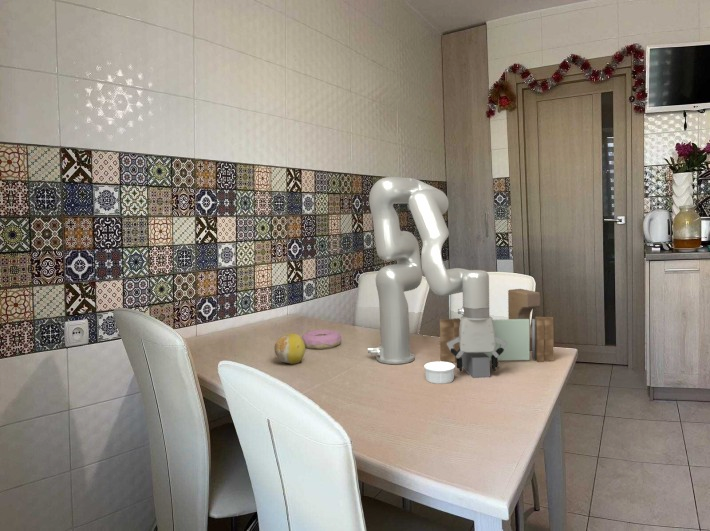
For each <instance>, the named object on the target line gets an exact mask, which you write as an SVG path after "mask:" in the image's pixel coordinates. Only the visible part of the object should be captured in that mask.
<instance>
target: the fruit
mask: <svg viewBox="0 0 710 531" xmlns="http://www.w3.org/2000/svg"><path fill="white" fill-rule="evenodd" d="M301 337H302V336H301V335H299V334H297V333H286V334H285V335H283V336H280V337H279V338H277V340H276V342H275V343H274V354H275V356H276V358H277V359H278V360H279V361H280V362H282V363H287V364H291V365H296V364H298V363H300V362H302V360H303V359H304V356H305V353H306V347H305V344H304V341H303V339H302V338H301Z"/></svg>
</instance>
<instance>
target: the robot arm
mask: <svg viewBox="0 0 710 531" xmlns="http://www.w3.org/2000/svg"><path fill="white" fill-rule="evenodd" d="M368 204H369V210H370V213H371V217H372V218H371V219H372V224H373V232H374V241H375V242H374V243H375V248H376V253H377V254H376V255H377V256H378V258H379V259H380V260H382V261H386V262H387V261H396V263H395V264H390V265H385V266H383V267H381V268H380V269H379V270H378V271H377V273H376V276H375V286H376V290H377V295H378V303H379V304H378V305H379V306H378V307H379V324H380V325H379V329H380V330H379V331H380V332H379V333H380V335H379V336H380V344H379V345H378V346H376V347H372V346H371V347H367V354H370V355H376V360H377V361H378V362H379V363H382V364H387V365H401V364H407V363H411V362H413V361H414V360H415V354H414V353H412V352H411V351H410V318H409V317H410V314H409V304H408V299H407V297H406V295H405V292H409V291H413V290H415V289H417V288H418V287H419V286H420V285H421V283H422V281H423V274H424V277H425V279H426V282H427V286H428V287H429V289H430V290H431V291H432V293H434V294H435V295H436V296H438V297H446V296H452V295H455V294H460V293H462V307H461V308H460V309H459V308H458V309H457V314H458V315H459V314H460V315H462V316H461V317H460V326H459V336H458V337H456V338H454V339H452V340H450V341H448V342H447V346H448V348H449V349H450V351H451V353H452V354H453V355H455V356H456V363H455V364H456V368H457V369H458V371H459V372H461V373H462V372H463V367H462V358H461V356H462V355H463V353H464V352H465V353H488V352H491V353H492V356H491V360H490V363H491V365H490V367H491V370H492V371H493V372H496V371H497V369H496V368H498V367H499V366H498V364H499V363H498V362H499V360H498V357H499V355H500V354H501V353H502V352H503V351H504V349H505V347H506V345H507V342H506V341H504V340H502V339H500V338H498V337H496V336H495V331H494V323H493V320H494V319H493V317H492V316H490V274H489V272H488V271H487V270H483V269H482V270H481V269H466V268H459V267H454V268H448V269H447V268H446V266H445V263H444V260H443V257H442V248H443V245H444V243H445V241H446V240H447V239H448V237H449V235H450V231H449V228H448V226H447V223H446V221H445V219H444V216H443V215H444V214H445V213H447V211H448V208H449V204H450V202H449V199H448V196H447V195H446V193H445V192H444V191H443V190H441V189H438V188H436V187H434V186H432V185H430V184H428V183H426V182H423V181H421V180H419V179H417V178H413V177H403V176H401V177H400V176H386V177H383V178H380V179H378V180H377V181H376V182H375V183H374V184H373V185H372V187H371V189H370V191H369V196H368ZM394 204H399V205H400V204H408V208H409V210H410V213H411V215H412V218H413V222H414V224H415V226H416V228H417V231H418V234H419V236H420V239H421V241H422V247H421V248H422V249H421V251H420V245H419V241H418V239H417V237H416V236H415V235H414V234H413V233H412V232H410V231H407V230H401V226H400V219H399V216H398V213H397V211H396V209H395V207H394ZM420 252H421V254H420ZM495 341H496V342H498V343H500V344H501V345H500V347H499V348H498V349H497V350H496V351H495ZM458 342H459V347H460V348H459V349H458V350H457V351H456V350H455V349H454V348H453V345H454V344H456V343H458Z"/></svg>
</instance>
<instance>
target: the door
mask: <svg viewBox="0 0 710 531" xmlns="http://www.w3.org/2000/svg"><path fill="white" fill-rule="evenodd" d="M493 323H494V331H495V336H496V337H498V338H500V339H502V340H504V341H506V342H507V345H506V347H505V349H504V351H503V352H502V353H501V354H500V355H499V357H498V361H530V351H529V319H508V318H507V319H504V318H503V319H502V318H501V319H493ZM531 327H532V351H531V357H532V358H531V359H532V360H533V361H536V360H535V318H532V319H531ZM500 345H501V344H500V343H498V342H496V341H495V351H496V350H497V349H498V348H499V347H500ZM485 354H486V355H487V356H488V357H489V358H490V361H491V356H492V353H491V352H488V353H485Z"/></svg>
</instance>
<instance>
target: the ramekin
mask: <svg viewBox="0 0 710 531" xmlns="http://www.w3.org/2000/svg"><path fill="white" fill-rule="evenodd" d="M423 368H424V372H425V373H424V374H425V379H426V381H427V382H428V383H430V384H434V385H446V384H451V383H452V382H453V381H454V380H455V379H454V378H455V369H456V365H455V363H449V362H441V360H440V361H431V362H427V363H425V364H424V365H423Z"/></svg>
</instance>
